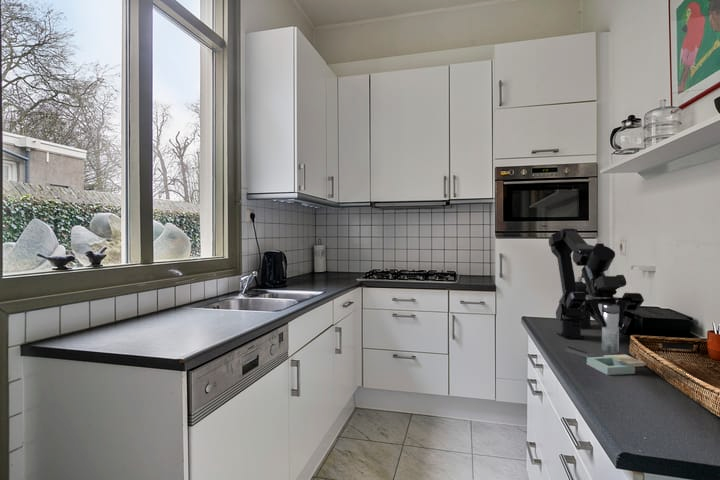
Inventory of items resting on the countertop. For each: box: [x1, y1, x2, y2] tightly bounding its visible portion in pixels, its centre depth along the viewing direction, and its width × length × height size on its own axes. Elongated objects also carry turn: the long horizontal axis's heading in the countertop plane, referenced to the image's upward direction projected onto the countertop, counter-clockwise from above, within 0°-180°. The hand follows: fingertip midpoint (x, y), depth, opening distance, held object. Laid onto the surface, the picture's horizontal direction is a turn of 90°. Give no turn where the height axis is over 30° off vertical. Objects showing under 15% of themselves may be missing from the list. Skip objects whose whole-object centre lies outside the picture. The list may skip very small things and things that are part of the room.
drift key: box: [565, 346, 595, 359], centre depth 118 cm, size 8×2×1 cm, turn 25°
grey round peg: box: [601, 303, 620, 354], centre depth 105 cm, size 4×4×13 cm
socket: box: [586, 356, 636, 376], centre depth 106 cm, size 8×8×2 cm
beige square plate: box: [603, 353, 646, 368], centre depth 110 cm, size 7×7×1 cm
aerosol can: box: [575, 275, 592, 330], centre depth 149 cm, size 8×8×20 cm
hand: (612, 327), depth 104 cm, fingers closed on grey round peg, 4 cm apart
